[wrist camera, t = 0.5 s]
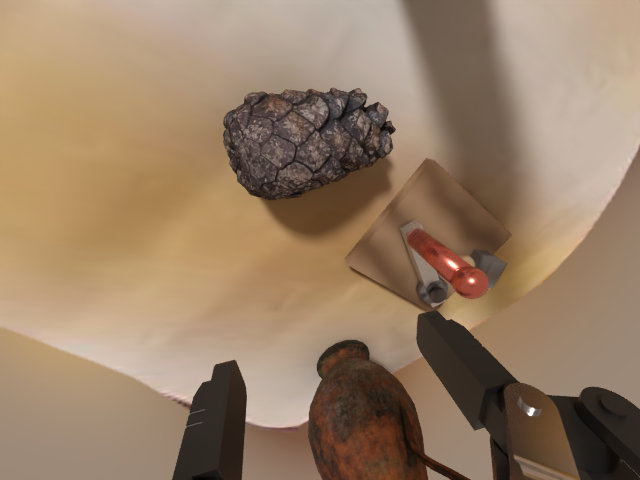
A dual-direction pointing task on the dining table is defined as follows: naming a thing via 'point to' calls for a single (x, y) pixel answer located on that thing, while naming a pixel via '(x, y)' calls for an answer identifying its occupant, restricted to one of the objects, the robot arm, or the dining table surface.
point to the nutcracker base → (441, 223)
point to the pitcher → (365, 421)
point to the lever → (440, 266)
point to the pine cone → (303, 140)
